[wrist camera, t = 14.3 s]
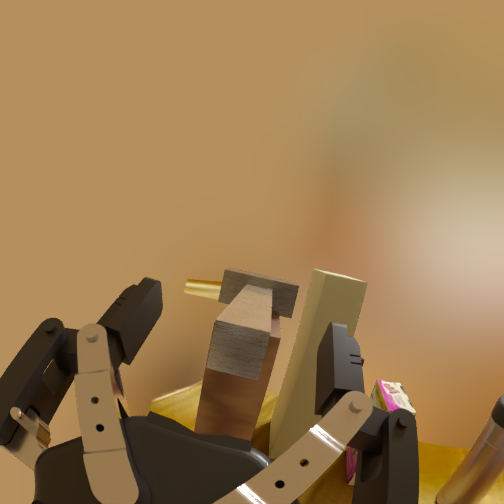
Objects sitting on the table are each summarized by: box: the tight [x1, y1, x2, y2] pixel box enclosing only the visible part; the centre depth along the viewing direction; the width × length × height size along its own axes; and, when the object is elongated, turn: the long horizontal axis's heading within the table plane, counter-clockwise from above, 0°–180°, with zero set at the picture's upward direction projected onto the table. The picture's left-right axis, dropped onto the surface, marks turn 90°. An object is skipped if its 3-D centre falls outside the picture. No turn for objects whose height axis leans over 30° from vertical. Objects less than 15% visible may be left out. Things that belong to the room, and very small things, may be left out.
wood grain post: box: [194, 314, 281, 441], centre depth 30 cm, size 6×14×26 cm, turn 176°
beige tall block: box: [269, 269, 367, 459], centre depth 40 cm, size 6×12×32 cm, turn 175°
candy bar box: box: [346, 380, 416, 486], centre depth 32 cm, size 11×5×16 cm, turn 165°
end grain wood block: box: [206, 268, 299, 380], centre depth 25 cm, size 9×22×4 cm, turn 175°
